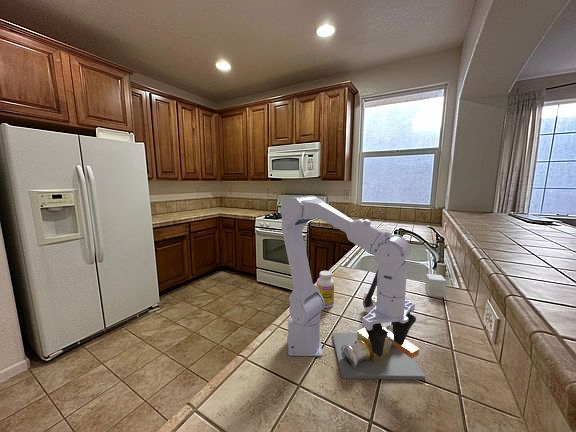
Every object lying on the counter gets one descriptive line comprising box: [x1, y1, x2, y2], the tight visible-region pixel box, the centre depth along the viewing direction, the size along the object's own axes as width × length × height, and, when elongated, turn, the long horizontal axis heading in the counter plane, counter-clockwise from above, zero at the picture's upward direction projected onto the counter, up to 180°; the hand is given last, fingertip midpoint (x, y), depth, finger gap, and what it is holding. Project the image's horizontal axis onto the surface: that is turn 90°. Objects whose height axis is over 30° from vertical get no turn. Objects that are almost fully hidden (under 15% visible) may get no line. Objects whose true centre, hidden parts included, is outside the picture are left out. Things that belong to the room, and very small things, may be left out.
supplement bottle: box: [316, 270, 335, 309], centre depth 91 cm, size 7×7×13 cm
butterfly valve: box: [362, 269, 378, 315], centre depth 84 cm, size 9×20×17 cm
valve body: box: [341, 324, 393, 369], centre depth 65 cm, size 18×6×8 cm, turn 118°
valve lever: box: [383, 327, 420, 359], centre depth 59 cm, size 13×3×2 cm, turn 28°
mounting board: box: [332, 332, 426, 381], centre depth 65 cm, size 20×16×1 cm
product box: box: [424, 273, 447, 298], centre depth 99 cm, size 6×6×7 cm
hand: (387, 347), depth 53 cm, fingers open, 6 cm apart
